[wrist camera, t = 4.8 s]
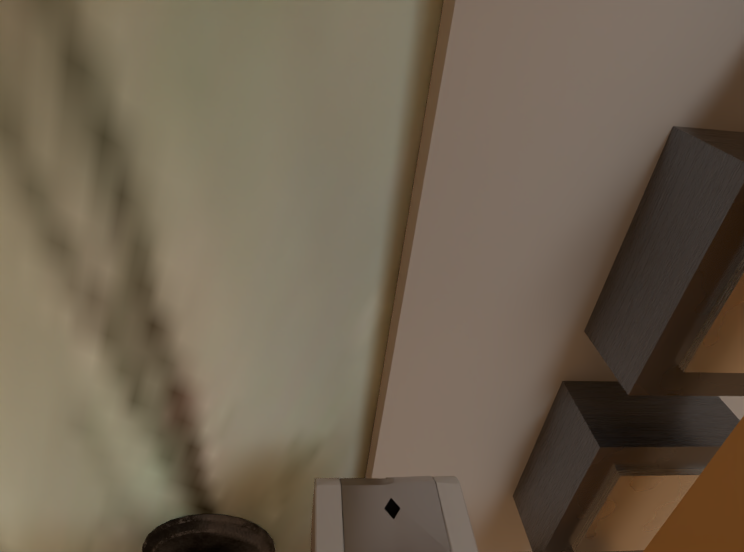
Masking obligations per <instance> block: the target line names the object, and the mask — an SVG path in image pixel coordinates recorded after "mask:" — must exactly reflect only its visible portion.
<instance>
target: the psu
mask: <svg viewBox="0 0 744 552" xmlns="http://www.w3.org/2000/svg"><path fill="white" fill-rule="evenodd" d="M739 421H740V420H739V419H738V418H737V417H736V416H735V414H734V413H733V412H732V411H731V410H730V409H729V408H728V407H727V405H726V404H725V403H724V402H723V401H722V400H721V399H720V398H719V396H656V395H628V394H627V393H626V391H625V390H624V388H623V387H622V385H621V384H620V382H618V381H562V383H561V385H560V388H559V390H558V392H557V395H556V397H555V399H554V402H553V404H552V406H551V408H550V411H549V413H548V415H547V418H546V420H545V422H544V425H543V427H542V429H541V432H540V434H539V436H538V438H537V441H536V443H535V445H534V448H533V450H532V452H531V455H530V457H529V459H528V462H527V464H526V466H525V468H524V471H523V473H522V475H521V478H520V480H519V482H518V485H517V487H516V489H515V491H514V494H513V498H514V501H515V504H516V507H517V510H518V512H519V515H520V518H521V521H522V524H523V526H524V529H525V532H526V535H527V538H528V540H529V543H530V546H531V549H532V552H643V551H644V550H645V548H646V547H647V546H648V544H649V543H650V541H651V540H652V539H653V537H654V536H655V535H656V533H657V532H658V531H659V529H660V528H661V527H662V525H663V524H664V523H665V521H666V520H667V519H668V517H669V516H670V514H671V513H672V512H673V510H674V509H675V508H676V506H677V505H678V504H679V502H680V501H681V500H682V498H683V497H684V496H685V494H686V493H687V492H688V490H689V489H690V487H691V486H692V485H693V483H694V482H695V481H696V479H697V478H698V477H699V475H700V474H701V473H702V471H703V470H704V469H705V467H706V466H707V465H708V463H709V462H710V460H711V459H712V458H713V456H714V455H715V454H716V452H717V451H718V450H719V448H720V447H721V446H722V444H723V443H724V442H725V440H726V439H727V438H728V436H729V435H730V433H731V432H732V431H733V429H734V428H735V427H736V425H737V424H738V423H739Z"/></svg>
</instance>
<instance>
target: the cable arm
mask: <svg viewBox="0 0 744 552" xmlns="http://www.w3.org/2000/svg"><path fill="white" fill-rule="evenodd" d="M643 552H744V416H743V417H742V419H741V420H740V421H739V423H738V424H737V425H736V427H735V428H734V429H733V431H732V432H731V433H730V435H729V436H728V438H727V439H726V440H725V442H724V443H723V444H722V446H721V447H720V448H719V450H718V451H717V452H716V454H715V455H714V456H713V458H712V459H711V460H710V462H709V463H708V465H707V466H706V467H705V469H704V470H703V471H702V473H701V474H700V475H699V477H698V478H697V479H696V481H695V482H694V483H693V485H692V486H691V487H690V489H689V490H688V492H687V493H686V494H685V496H684V497H683V498H682V500H681V501H680V502H679V504H678V505H677V506H676V508H675V509H674V510H673V512H672V513H671V514H670V516H669V517H668V519H667V520H666V521H665V523H664V524H663V525H662V527H661V528H660V529H659V531H658V532H657V533H656V535H655V536H654V537H653V539H652V540H651V541H650V543H649V544H648V546H647V547H646V548H645V550H644V551H643Z"/></svg>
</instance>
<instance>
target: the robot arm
mask: <svg viewBox="0 0 744 552" xmlns="http://www.w3.org/2000/svg"><path fill="white" fill-rule="evenodd" d="M311 552H478V548H477V544H476V541H475V537H474V533H473V530H472V526H471V522H470V519H469V515H468V511H467V508H466V504H465V500H464V497H463V493H462V489H461V486H460V482H459V480H458V479H457V477H455V476H435V477H431V476H413V477H386V478H340V479H339V478H316V479H315V482H314V494H313V506H312V525H311Z"/></svg>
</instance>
